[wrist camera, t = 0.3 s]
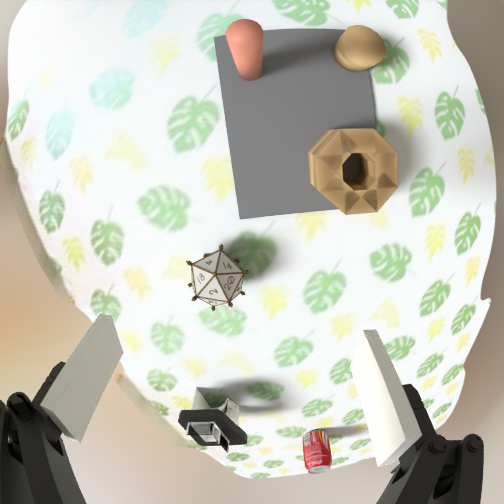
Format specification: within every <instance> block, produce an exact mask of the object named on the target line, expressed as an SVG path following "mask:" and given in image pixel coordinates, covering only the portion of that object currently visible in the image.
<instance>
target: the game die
mask: <svg viewBox="0 0 504 504" xmlns="http://www.w3.org/2000/svg"><path fill="white" fill-rule="evenodd" d="M219 248H220V250H218V251H216V252H214V253H212V254H210V255H208V256H207V255H205V254H204V256H203V257H204V258H202V259H200V260H198V261H196V262H194V263H191V262H190V261H186V262H187V264H188V265H191V271H192V283H189V284H188V286H189V287H191V286H193V289H194V292H195V296H194V297H192V301H195V300H196V299H197V298H199V299H201V300H203V301H205V302H206V303H208V304H210V305H212V311H214V310H215V306H217V305H221V304H225V303H228V305H229V306H230V307H232V305H233V304H232V303H231V301H232V300H233V299H234V298H235V297H236V296H237V295H238V294H240V293H241V295H245V292H243V291H241V289H242V283H243V278H244V274H248V273H249V272H250V271H249V270H245V271H243V270H242V269H241V268H240V267H239V265H238V264H237V263H238V262H239V260H237V259H236V260H235V261H234V260H233V259H231V258H230V257H229V256H228V255H227V254H226V253H225V252H223V251H222V249H223V245H222V244H221V245H220V247H219Z"/></svg>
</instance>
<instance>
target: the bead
mask: <svg viewBox="0 0 504 504" xmlns="http://www.w3.org/2000/svg"><path fill="white" fill-rule="evenodd" d="M351 153H355V154H356V155H357V156H358V157H359V158H360V170H361V172H360V173H359V174H358V175H357V176H356V178H355V179H354V180H353V181H349V182H344V181H343V172H342V164H343V163H344V162H345V161H346V159H347V158H348V157H349V156H350V155H351ZM308 159H309V170H310V181H311V184H312V185H313V186H314V187H315V188H316V189H317V190H318V191H319V192H320V193H321V194H323V195H324V196H325V197H326V198H327V199H328V200H329V201H331V202H332V203H333V204H334V205H335V206H336V207H337V208H338V209H340V210H341V211H342V212H343V213H344V214H345V215H349V214H360V213H372V212H378V210H379V209H380V208H381V207H382V206H383V205H384V203H385V202H386V201H387V200H388V199H389V198H390V196H391V195H392V194H393V193H394V192H395V190H396V189H397V188H398V162H397V153H396V152H395V151H394V149H393V148H392V147H391V146H390V145H389V144H388V143H387V142H386V141H385V140H384V139H383V138H382V137H381V136H380V135H379V134H378V132H377V131H376V130H375V129H332V130H327V131H326V132H325V133H324V134H323V135H322V137H321V138H320V139H319V140H318V141H317V143H316V144H315V145H314V146H313V147H312V148H311V150H310V151H309V152H308Z"/></svg>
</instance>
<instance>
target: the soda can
mask: <svg viewBox="0 0 504 504" xmlns="http://www.w3.org/2000/svg"><path fill="white" fill-rule="evenodd" d="M303 452H304V462H305V467H306V468H307V470H308V472H309V473H312V474H313V473H314V474H316V473H322V472H326V471H328V470H329V469H330V465H331V463H332V458H331V450H330V444H329V439H328V435H327V433H326V432H325V431H322V430H313V431H310V432H308V433H307V434H305V435H304V436H303Z"/></svg>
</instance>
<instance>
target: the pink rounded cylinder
mask: <svg viewBox="0 0 504 504" xmlns="http://www.w3.org/2000/svg"><path fill="white" fill-rule="evenodd" d="M226 39H227V41H228V44H229V47H230V50H231V53H232V55H233V58H234V61H235V64H236V67H237V70H238V73H239V75H240V77H241V78H242V79H244V80H246V81H254V80H256V79H258V78H259V77H260V76H261V73H262V53H263V30H262V27H261V26H260V25H259V24H258V23H257V22H255V21H253V20H249V19H241V20H237V21H235V22H233V23H232V24H230V25H229V27H228V28H227V30H226Z"/></svg>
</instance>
